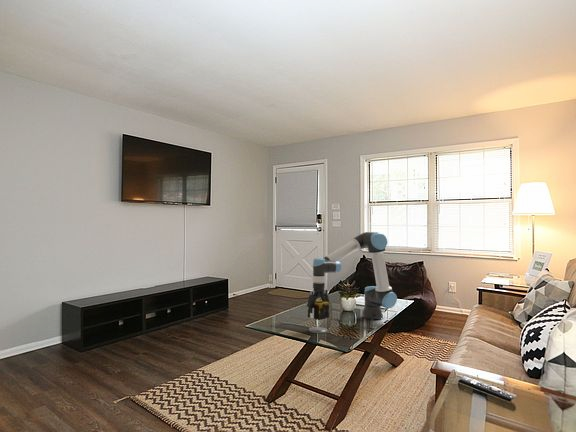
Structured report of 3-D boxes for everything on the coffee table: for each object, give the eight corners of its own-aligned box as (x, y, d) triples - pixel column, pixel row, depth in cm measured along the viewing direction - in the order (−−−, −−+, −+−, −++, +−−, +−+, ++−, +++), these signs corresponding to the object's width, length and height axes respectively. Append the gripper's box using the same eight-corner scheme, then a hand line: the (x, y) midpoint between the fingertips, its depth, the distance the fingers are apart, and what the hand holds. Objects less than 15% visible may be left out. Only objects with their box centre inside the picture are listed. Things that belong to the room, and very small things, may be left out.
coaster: (318, 326, 228) (318, 325, 228) (331, 331, 218) (331, 330, 218) (305, 329, 221) (305, 328, 221) (317, 334, 211) (317, 333, 211)
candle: (307, 317, 220) (307, 301, 220) (317, 314, 227) (317, 299, 227) (319, 320, 213) (319, 304, 213) (329, 317, 220) (329, 302, 220)
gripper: (327, 280, 231) (327, 313, 230) (301, 283, 217) (301, 318, 216) (335, 281, 225) (335, 315, 224) (309, 284, 211) (308, 320, 210)
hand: (318, 316), depth 220 cm, fingers closed on candle, 10 cm apart
